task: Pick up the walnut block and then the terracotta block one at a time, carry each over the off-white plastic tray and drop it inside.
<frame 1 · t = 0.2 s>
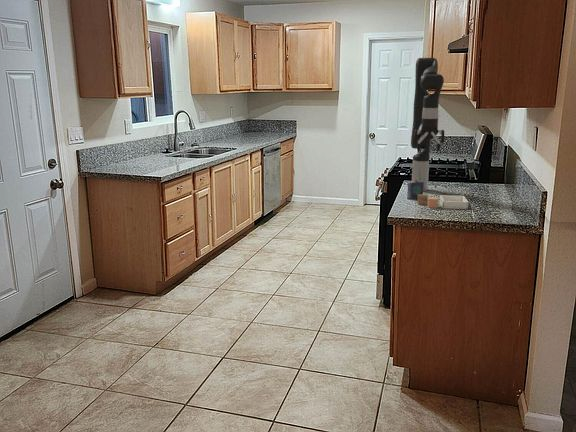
hand: (428, 151, 245), 28 cm above the worktop, fingers open, 8 cm apart
terracotta block: (432, 207, 251), on the worktop
flask: (414, 198, 272), on the worktop
tray: (453, 205, 254), on the worktop
walnut block: (422, 203, 259), on the worktop
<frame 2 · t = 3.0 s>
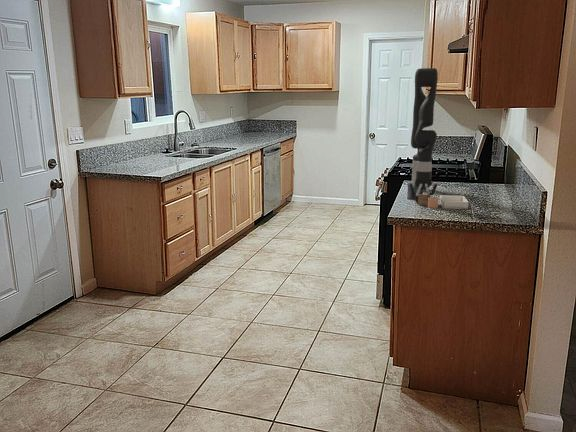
hand: (422, 202, 259), 0 cm above the worktop, fingers closed on walnut block, 4 cm apart
walnut block: (422, 203, 259), on the worktop, touching gripper
everything else where it was.
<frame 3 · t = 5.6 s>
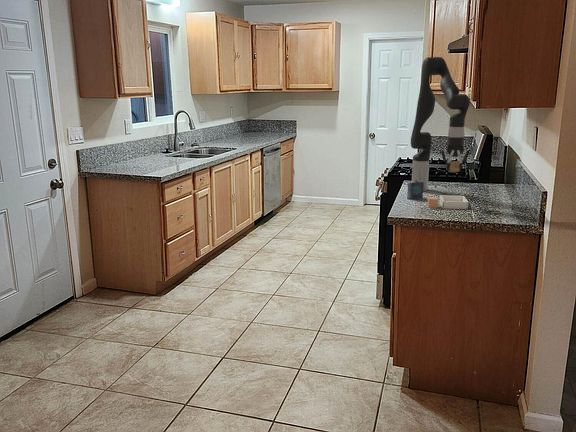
hand: (453, 170, 253), 17 cm above the worktop, fingers closed on walnut block, 4 cm apart
walnut block: (453, 171, 253), point 17 cm above the worktop, touching gripper
everything else where it was.
when the fingers open (4 cm above the worktop, at t = 8.2 s): walnut block drops 2 cm, resting on tray.
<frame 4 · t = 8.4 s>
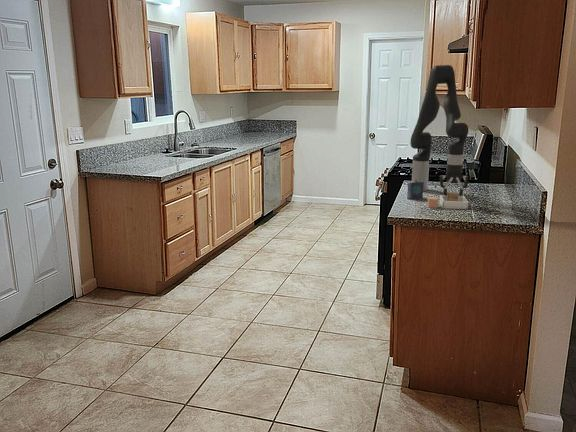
hand: (452, 195, 256), 4 cm above the worktop, fingers open, 6 cm apart
walnut block: (452, 201, 257), point 1 cm above the worktop, touching tray
everything else where it was.
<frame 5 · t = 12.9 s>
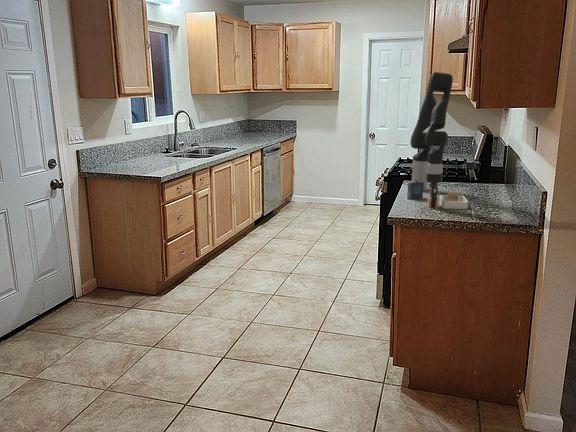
hand: (432, 206, 251), 0 cm above the worktop, fingers closed on terracotta block, 4 cm apart
terracotta block: (432, 206, 251), on the worktop, touching gripper
everything else where it was.
when the fingers open (4 cm above the worktop, at t = 17.5 s): terracotta block drops 2 cm, resting on tray.
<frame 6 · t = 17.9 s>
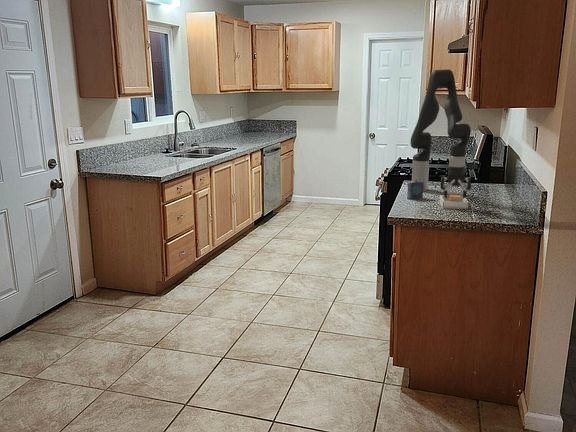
hand: (454, 198, 249), 5 cm above the worktop, fingers open, 8 cm apart
terracotta block: (454, 204, 250), point 1 cm above the worktop, touching tray
everything else where it was.
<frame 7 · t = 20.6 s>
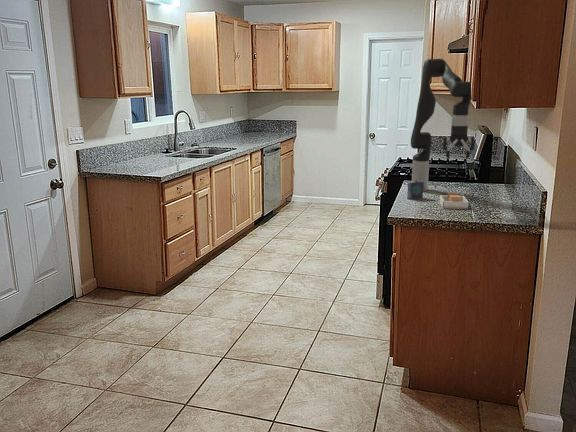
hand: (457, 158, 244), 24 cm above the worktop, fingers open, 8 cm apart
nothing on the worktop moved.
at the end: walnut block inside the target area on the tray (3.4 cm from its centre), point 1.0 cm above the tray's base; terracotta block inside the target area on the tray (3.5 cm from its centre), point 1.0 cm above the tray's base; the gripper is holding nothing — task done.
